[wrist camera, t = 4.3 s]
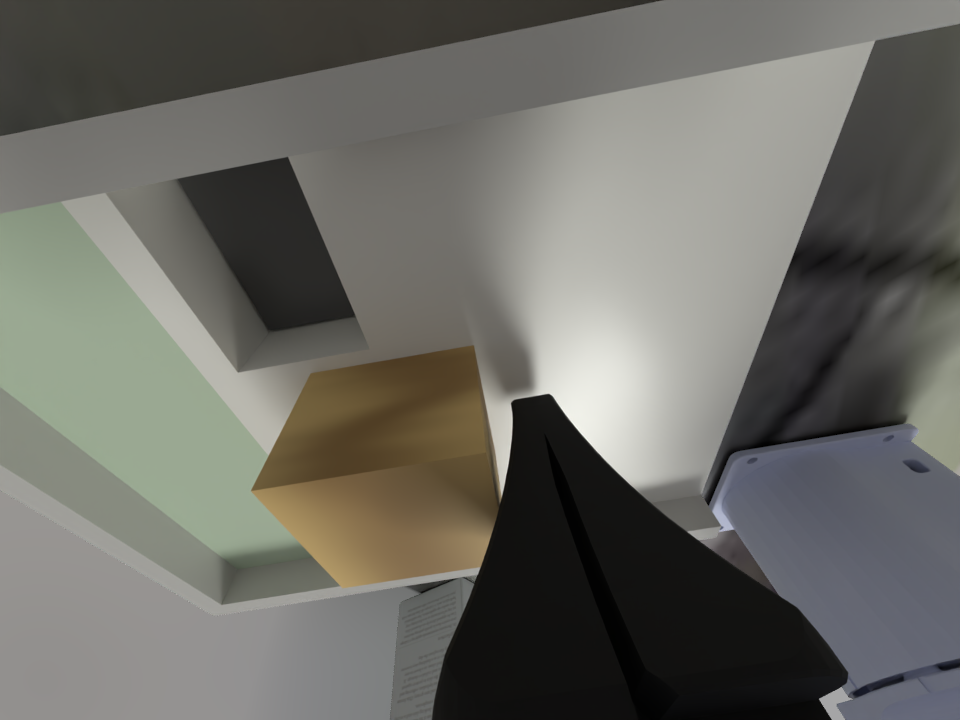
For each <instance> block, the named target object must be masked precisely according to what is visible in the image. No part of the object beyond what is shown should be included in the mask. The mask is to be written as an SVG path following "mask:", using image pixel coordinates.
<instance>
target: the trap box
mask: <svg viewBox="0 0 960 720" xmlns="http://www.w3.org/2000/svg"><path fill="white" fill-rule="evenodd" d="M956 24H960V0H662V1H657V2H652V3H647V4H642V5H637V6H633V7H628V8H623V9H618V10H613V11H608V12H603V13H599V14H594V15H589V16H584V17H579V18H574V19H569V20H564V21H560V22H555V23H550V24H545V25H540V26H535V27H530V28H525V29H521V30H516V31H511V32H506V33H501V34H496V35H491V36H486V37H482V38H477V39H472V40H467V41H462V42H457V43H452V44H448V45H443V46H438V47H433V48H428V49H423V50H418V51H413V52H409V53H404V54H399V55H394V56H389V57H384V58H379V59H374V60H370V61H365V62H360V63H355V64H350V65H345V66H340V67H336V68H331V69H326V70H321V71H316V72H311V73H306V74H301V75H297V76H292V77H287V78H282V79H277V80H272V81H267V82H262V83H258V84H253V85H248V86H243V87H238V88H233V89H228V90H223V91H219V92H214V93H209V94H204V95H199V96H194V97H189V98H185V99H180V100H175V101H170V102H165V103H160V104H155V105H150V106H146V107H141V108H136V109H131V110H126V111H121V112H116V113H111V114H107V115H102V116H97V117H92V118H87V119H82V120H77V121H72V122H68V123H63V124H58V125H53V126H48V127H43V128H38V129H34V130H29V131H24V132H19V133H14V134H9V135H4V136H0V491H2V492H4V493H5V494H7V495H9V496H11V497H12V498H14V499H16V500H17V501H19V502H21V503H22V504H24V505H26V506H27V507H29V508H31V509H33V510H34V511H36V512H38V513H39V514H41V515H43V516H44V517H46V518H48V519H50V520H51V521H53V522H55V523H56V524H58V525H60V526H61V527H63V528H65V529H67V530H68V531H70V532H72V533H73V534H75V535H77V536H78V537H80V538H82V539H84V540H85V541H87V542H89V543H90V544H92V545H94V546H95V547H97V548H99V549H100V550H102V551H104V552H105V553H107V554H109V555H111V556H112V557H114V558H116V559H117V560H119V561H121V562H123V563H124V564H126V565H128V566H129V567H131V568H133V569H134V570H136V571H138V572H139V573H141V574H143V575H145V576H147V577H148V578H150V579H152V580H153V581H155V582H156V583H158V584H160V585H162V586H163V587H165V588H167V589H168V590H170V591H172V592H173V593H175V594H177V595H179V596H180V597H182V598H184V599H186V600H187V601H189V602H190V603H192V604H194V605H196V606H197V607H199V608H201V609H202V610H204V611H206V612H207V613H209V614H211V615H212V616H218V615H225V614H231V613H238V612H243V611H250V610H257V609H263V608H269V607H276V606H282V605H288V604H295V603H301V602H307V601H314V600H320V599H327V598H333V597H340V596H346V595H352V594H359V593H365V592H371V591H378V590H384V589H389V588H390V589H391V588H397V587H403V586H410V585H416V584H422V583H429V582H435V581H442V580H448V579H454V578H461V577H467V576H473V575H478V573H479V570H480V567H478V568H472V569H465V570H459V571H452V572H446V573H439V574H433V575H426V576H420V577H413V578H407V579H400V580H394V581H387V582H381V583H374V584H368V585H361V586H355V587H348V588H342V587H341V586H340V585H339V584H338V583H337V582H336V581H335V580H334V579H333V578H332V577H331V576H330V575H329V573H328V572H327V571H326V570H325V569H324V568H323V567H322V566H321V565H320V564H319V563H318V562H317V561H316V560H315V559H314V558H313V557H312V556H311V554H310V553H309V552H308V551H307V550H306V549H305V548H304V547H303V546H302V545H301V544H300V543H299V542H298V541H297V540H296V539H295V538H294V537H293V535H292V534H291V533H290V532H289V531H288V530H287V529H286V528H285V527H284V526H283V525H282V524H281V523H280V522H279V521H278V520H277V519H276V517H275V516H274V515H273V514H272V513H271V512H270V511H269V510H268V509H267V508H266V507H265V506H264V505H263V504H262V503H261V502H260V501H259V500H258V498H257V497H256V496H255V495H254V494H253V493H252V492H251V489H252V487H253V485H254V483H255V482H256V480H257V478H258V476H259V474H260V472H261V470H262V468H263V466H264V464H265V462H266V460H267V458H268V456H269V454H270V452H271V450H272V448H273V446H274V444H275V442H276V440H277V438H278V436H279V434H280V433H281V431H282V429H283V427H284V425H285V423H286V421H287V419H288V417H289V415H290V413H291V411H292V409H293V407H294V405H295V403H296V401H297V399H298V397H299V395H300V393H301V391H302V389H303V387H304V385H305V384H306V382H307V380H308V378H309V376H310V374H311V373H316V372H321V371H327V370H333V369H339V368H344V367H350V366H356V365H362V364H368V363H373V362H379V361H385V360H391V359H397V358H402V357H408V356H414V355H420V354H426V353H431V352H437V351H443V350H449V349H455V348H460V347H466V346H472V345H474V348H475V353H476V358H477V363H478V368H479V373H480V378H481V383H482V388H483V393H484V398H485V403H486V408H487V413H488V418H489V423H490V428H491V433H492V438H493V443H494V448H495V454H496V461H497V468H498V475H499V482H500V489H501V497H502V494H503V490H504V485H505V480H506V474H507V469H508V464H509V457H510V449H511V440H512V425H513V418H512V408H511V402H512V401H513V400H515V399H521V398H526V397H532V396H538V395H544V394H550V395H552V396H553V397H554V399H555V400H556V402H557V403H558V405H559V406H560V408H561V409H562V410H563V412H564V413H565V414H566V416H567V417H568V418H569V420H570V421H571V422H572V423H573V425H574V426H575V427H576V428H577V430H578V431H579V432H580V433H581V434H582V435H583V437H584V438H585V439H586V440H587V441H588V442H589V443H590V444H591V446H592V447H593V448H594V449H595V450H596V451H597V452H598V453H599V454H600V455H601V456H602V457H603V459H604V460H605V461H606V462H607V463H608V464H609V465H610V466H611V467H612V468H613V469H614V470H615V471H616V472H617V473H618V474H619V475H621V476H622V477H623V478H624V479H625V480H626V481H627V482H628V483H629V484H630V485H631V486H632V487H633V488H635V489H636V490H637V491H638V492H639V493H640V494H641V495H642V496H644V497H645V498H646V499H647V500H648V501H649V502H651V503H652V504H653V505H654V506H655V507H656V508H658V509H659V510H660V511H661V512H662V513H664V514H665V515H666V516H667V517H669V518H670V519H671V520H673V521H674V522H675V523H676V524H678V525H679V526H680V527H682V528H683V529H684V530H686V531H687V532H688V533H690V534H691V535H692V536H693V537H695V538H696V539H697V540H703V539H709V538H716V536H717V534H718V532H719V530H720V528H721V524H720V523H719V521H718V520H717V518H716V517H715V515H714V514H713V512H712V511H711V509H710V508H709V506H708V505H707V503H706V502H705V500H704V499H703V497H702V496H701V494H702V491H703V489H704V486H705V484H706V481H707V478H708V476H709V473H710V471H711V468H712V465H713V463H714V460H715V458H716V455H717V452H718V450H719V447H720V444H721V442H722V439H723V437H724V434H725V431H726V429H727V426H728V424H729V421H730V418H731V416H732V413H733V411H734V408H735V405H736V403H737V400H738V398H739V395H740V392H741V390H742V387H743V384H744V382H745V379H746V377H747V374H748V371H749V369H750V366H751V364H752V361H753V358H754V356H755V353H756V351H757V348H758V345H759V343H760V340H761V337H762V335H763V332H764V330H765V327H766V324H767V322H768V319H769V317H770V314H771V311H772V309H773V306H774V304H775V301H776V298H777V296H778V293H779V291H780V288H781V285H782V283H783V280H784V277H785V275H786V272H787V270H788V267H789V264H790V262H791V259H792V257H793V254H794V251H795V249H796V246H797V244H798V241H799V238H800V236H801V233H802V231H803V228H804V225H805V223H806V220H807V217H808V215H809V212H810V210H811V207H812V204H813V202H814V199H815V197H816V194H817V191H818V189H819V186H820V184H821V181H822V178H823V176H824V173H825V170H826V168H827V165H828V163H829V160H830V157H831V155H832V152H833V150H834V147H835V144H836V142H837V139H838V137H839V134H840V131H841V129H842V126H843V124H844V121H845V118H846V116H847V113H848V110H849V108H850V105H851V103H852V100H853V97H854V95H855V92H856V90H857V87H858V84H859V82H860V79H861V77H862V74H863V71H864V69H865V66H866V64H867V61H868V58H869V56H870V53H871V50H872V48H873V45H874V43H875V40H880V39H885V38H890V37H895V36H900V35H905V34H910V33H915V32H921V31H926V30H931V29H936V28H941V27H946V26H951V25H956Z"/></svg>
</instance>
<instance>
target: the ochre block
mask: <svg viewBox="0 0 960 720" xmlns="http://www.w3.org/2000/svg"><path fill="white" fill-rule="evenodd" d="M251 492H252V493H253V494H254V495H255V496H256V497H257V498H258V500H259V501H260V502H261V503H262V504H263V505H264V506H265V507H266V508H267V509H268V510H269V511H270V512H271V513H272V514H273V515H274V516H275V517H276V519H277V520H278V521H279V522H280V523H281V524H282V525H283V526H284V527H285V528H286V529H287V530H288V531H289V532H290V533H291V534H292V535H293V537H294V538H295V539H296V540H297V541H298V542H299V543H300V544H301V545H302V546H303V547H304V548H305V549H306V550H307V551H308V552H309V553H310V554H311V556H312V557H313V558H314V559H315V560H316V561H317V562H318V563H319V564H320V565H321V566H322V567H323V568H324V569H325V570H326V571H327V572H328V573H329V575H330V576H331V577H332V578H333V579H334V580H335V581H336V582H337V583H338V584H339V585H340V586H341V587H342V588H348V587H355V586H361V585H368V584H374V583H381V582H387V581H394V580H400V579H407V578H413V577H420V576H426V575H433V574H439V573H446V572H452V571H459V570H465V569H472V568H478V567H481V565H482V562H483V559H484V556H485V553H486V550H487V547H488V544H489V541H490V538H491V534H492V531H493V528H494V524H495V521H496V517H497V514H498V510H499V506H500V502H501V498H502V497H501V489H500V482H499V475H498V468H497V461H496V454H495V448H494V443H493V438H492V433H491V428H490V423H489V418H488V413H487V408H486V403H485V398H484V393H483V388H482V383H481V378H480V373H479V368H478V363H477V358H476V353H475V348H474V345H472V346H466V347H460V348H455V349H449V350H443V351H437V352H431V353H426V354H420V355H414V356H408V357H402V358H397V359H391V360H385V361H379V362H373V363H368V364H362V365H356V366H350V367H344V368H339V369H333V370H327V371H321V372H316V373H311V374H310V376H309V378H308V380H307V382H306V384H305V385H304V387H303V389H302V391H301V393H300V395H299V397H298V399H297V401H296V403H295V405H294V407H293V409H292V411H291V413H290V415H289V417H288V419H287V421H286V423H285V425H284V427H283V429H282V431H281V433H280V434H279V436H278V438H277V440H276V442H275V444H274V446H273V448H272V450H271V452H270V454H269V456H268V458H267V460H266V462H265V464H264V466H263V468H262V470H261V472H260V474H259V476H258V478H257V480H256V482H255V483H254V485H253V487H252V489H251Z"/></svg>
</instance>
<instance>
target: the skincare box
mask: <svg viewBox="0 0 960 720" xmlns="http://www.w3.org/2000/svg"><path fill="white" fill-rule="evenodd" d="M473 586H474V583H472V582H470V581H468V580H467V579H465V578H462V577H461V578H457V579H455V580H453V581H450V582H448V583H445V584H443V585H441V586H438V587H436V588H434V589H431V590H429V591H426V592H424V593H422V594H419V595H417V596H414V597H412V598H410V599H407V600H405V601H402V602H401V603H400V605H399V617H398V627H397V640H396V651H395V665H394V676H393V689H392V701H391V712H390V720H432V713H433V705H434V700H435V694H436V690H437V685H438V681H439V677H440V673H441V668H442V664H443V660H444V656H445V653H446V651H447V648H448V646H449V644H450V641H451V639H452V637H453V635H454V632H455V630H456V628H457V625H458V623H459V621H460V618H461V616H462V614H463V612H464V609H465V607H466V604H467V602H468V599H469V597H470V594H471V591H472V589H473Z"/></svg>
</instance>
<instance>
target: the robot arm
mask: <svg viewBox="0 0 960 720" xmlns="http://www.w3.org/2000/svg"><path fill="white" fill-rule="evenodd" d="M511 408H512V418H513V425H512V440H511V449H510V457H509V464H508V469H507V474H506V480H505V485H504V490H503V494H502V498H501V502H500V506H499V510H498V514H497V517H496V521H495V524H494V528H493V531H492V534H491V538H490V541H489V544H488V547H487V550H486V553H485V556H484V559H483V562H482V565H481V567H480V570H479V573H478V575H477V578H476V581H475V583H474V586H473V589H472V591H471V594H470V597H469V599H468V602H467V604H466V607H465V609H464V612H463V614H462V616H461V618H460V621H459V623H458V625H457V628H456V630H455V632H454V635H453V637H452V639H451V641H450V644H449V646H448V648H447V651H446V653H445V656H444V660H443V664H442V668H441V673H440V677H439V681H438V685H437V690H436V694H435V700H434V705H433V713H432V720H832V719H831V718H830V716H829V715H828V713H827V712H826V710H825V708H824V707H823V705H822V704H821V702H820V700H819V698H821V697H823V696H825V695H827V694H829V693H831V692H833V691H835V690H837V689H839V688H840V687H842V688H843V690H844V691H845V693H846V694H847V695H848V697H849V698H852V699H853V700H849V701H846V702H842V703H839V704H837V707H838V709H839V710H840V712H841V713H842V715H843V717H844V718H845V720H960V476H958V475H957V474H955V473H954V472H953V471H951V470H950V469H949V468H947V467H946V466H944V465H943V464H942V463H940V462H939V461H937V460H936V459H935V458H933V457H932V456H931V455H929V454H928V453H926V452H925V451H924V450H922V449H921V448H919V447H918V446H917V445H915V444H914V443H913V442H911V440H912V439H913V438H914V437H915V436H916V435H917V433H918V429H917V428H916V427H915V426H913V425H912V424H901V425H895V426H889V427H883V428H876V429H870V430H864V431H858V432H852V433H846V434H840V435H834V436H828V437H822V438H816V439H809V440H803V441H797V442H791V443H785V444H779V445H773V446H767V447H761V448H755V449H748V450H742V451H738V452H735V453H733V454H732V455H731V456H730V457H729V459H728V461H727V464H726V466H725V469H724V471H723V473H722V476H721V478H720V480H719V483H718V485H717V488H716V490H715V492H714V495H713V497H712V500H711V502H710V504H709V508H710V509H711V511H712V512H713V514H714V515H715V517H716V518H717V520H718V521H719V523H720V524H721V528H720V530H719V532H721V531H727V530H733V529H734V530H735V531H736V532H737V534H738V535H739V537H740V538H741V540H742V541H743V543H744V544H745V546H746V547H747V549H748V550H749V552H750V553H751V554H752V556H753V557H754V559H755V560H756V562H757V563H758V565H759V566H760V568H761V569H762V571H763V572H764V574H765V575H766V577H767V578H768V579H769V581H770V582H771V584H772V585H773V587H774V588H775V590H776V591H777V593H778V594H779V595H777V594H776V593H774V592H773V591H771V590H769V589H768V588H766V587H765V586H763V585H762V584H760V583H759V582H757V581H756V580H754V579H753V578H751V577H750V576H748V575H747V574H745V573H744V572H742V571H741V570H739V569H738V568H736V567H735V566H733V565H732V564H731V563H729V562H728V561H726V560H725V559H724V558H722V557H721V556H719V555H718V554H716V553H715V552H714V551H712V550H711V549H709V548H708V547H707V546H705V545H704V544H703V543H701V542H700V541H699V540H697V539H696V538H695V537H693V536H692V535H691V534H690V533H688V532H687V531H686V530H684V529H683V528H682V527H680V526H679V525H678V524H676V523H675V522H674V521H673V520H671V519H670V518H669V517H667V516H666V515H665V514H664V513H662V512H661V511H660V510H659V509H658V508H656V507H655V506H654V505H653V504H652V503H651V502H649V501H648V500H647V499H646V498H645V497H644V496H642V495H641V494H640V493H639V492H638V491H637V490H636V489H635V488H633V487H632V486H631V485H630V484H629V483H628V482H627V481H626V480H625V479H624V478H623V477H622V476H621V475H619V474H618V473H617V472H616V471H615V470H614V469H613V468H612V467H611V466H610V465H609V464H608V463H607V462H606V461H605V460H604V459H603V457H602V456H601V455H600V454H599V453H598V452H597V451H596V450H595V449H594V448H593V447H592V446H591V444H590V443H589V442H588V441H587V440H586V439H585V438H584V437H583V435H582V434H581V433H580V432H579V431H578V430H577V428H576V427H575V426H574V425H573V423H572V422H571V421H570V420H569V418H568V417H567V416H566V414H565V413H564V412H563V410H562V409H561V408H560V406H559V405H558V403H557V402H556V400H555V399H554V397H553V396H552V395H550V394H544V395H538V396H532V397H526V398H521V399H515V400H513V401H512V402H511Z"/></svg>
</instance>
